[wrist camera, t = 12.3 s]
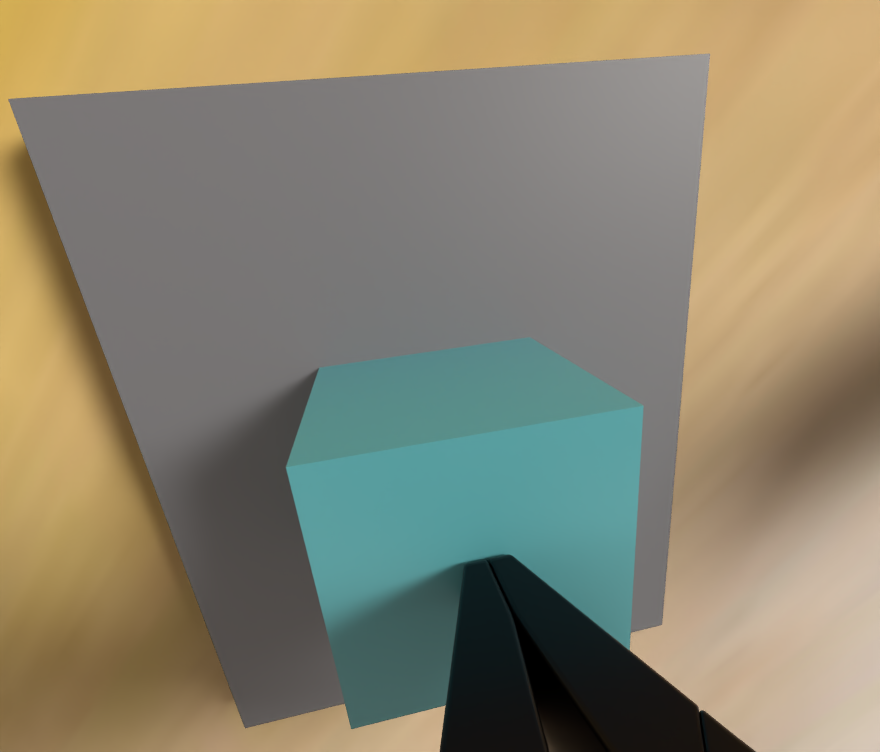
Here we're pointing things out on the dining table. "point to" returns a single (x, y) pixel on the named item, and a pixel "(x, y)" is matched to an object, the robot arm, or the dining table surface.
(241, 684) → the base plate
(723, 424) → the dining table surface
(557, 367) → the turquoise cube
